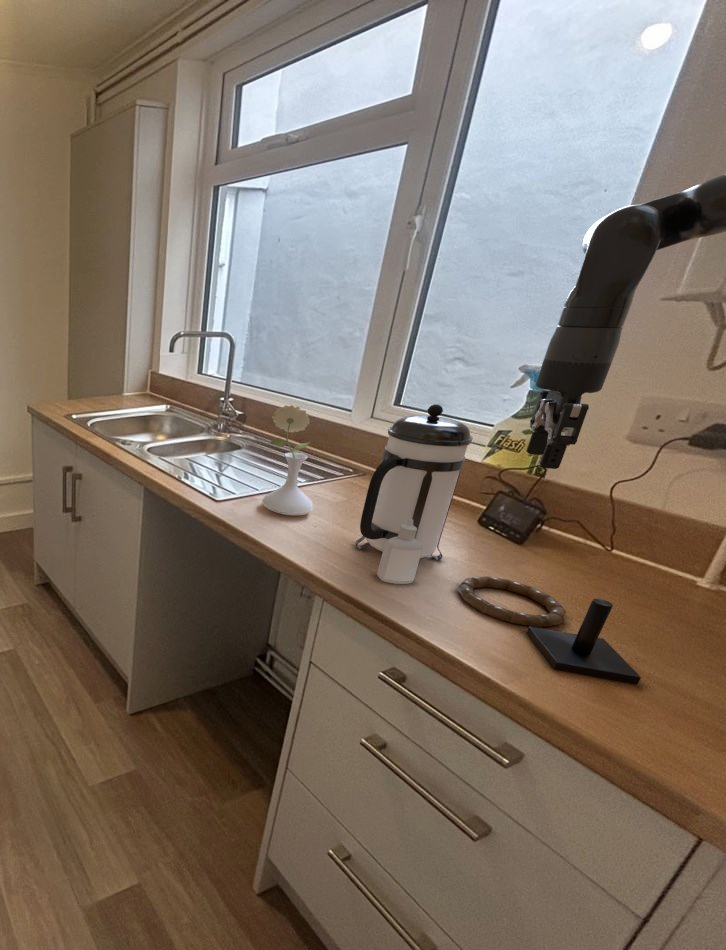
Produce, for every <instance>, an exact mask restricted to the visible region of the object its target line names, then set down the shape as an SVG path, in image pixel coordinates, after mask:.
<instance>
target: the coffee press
mask: <svg viewBox="0 0 726 950" xmlns="http://www.w3.org/2000/svg"><path fill="white" fill-rule="evenodd" d="M426 411H427V413H428V415H424V414H420V415H416V414H415V415H408V416H407V415H406V416H403V417H401V418H397V420H396V421H394V422H393V424H392V426H389V428H388V429H387V434H388V435H387V436H388V439H387V443H386V446H385V447H384V450H383V454H382V460H381V463H380V464H379V465H378V466H377V467H376V469H375V470H374V472H373V474H372V476H371V478H370V481H369V485H368V489H367V492H366V496H365V500H364V504H363V508H362V512H361V513H362V514H361V517H360V522H359V523H360V524H359V532H360V534H361V535H362V536H361V537H360V538H358V539H357V540H356V541H355V547H356V548H357V549H358V550H364V549H365V548H367V547H370V546H371V547H373V548H374V549H376V550H378V551H380V552H382V553H383V550H384V546H385V543H386V541H387V540H388V539H390V538H393V537H397V536H398V534H399V530H400V527H401V525H403V524H406V523H407V521H408V519H412V520H413V526H415V527H416V528H417V531H416V534H415V538H414V539H416V540H418V541H419V542H420V543H421V544H422V546H423V549H422V553H421V556H420V559H423V558H428V557H430V556H431V557H432V558H433V559H434V560H436V561H439V560H442V559H443V554H442V552H441V550H440V548H439V546H440V545H439V544H440V541H441V538H442V534H443V531H444V528H445V525H446V522H447V518H448V514H449V511H450V508H451V504H452V502H453V498H454V495H455V491H456V489H457V485H458V481H459V478H460V475H461V470H463V467H464V464H465V461H466V452H467V449H468V446H469V445H470V444H471V443H472V442H473V436H472V435H471V431H470V429H469V427H468V426H467V425H466V424H465V423H463V422H461V421H459V420H456V419H453V418H450V417H449V418H448V417H443V416H440V415H442V413H444V408H443V407H442V405H440V404H439V403H438V404H437V403H436V404H435V403H434V404H431V405H430V406H429V407H428V408H427V409H426ZM364 540H366V541H367V542H366V543H364V544H362V545H359V544H360V543H361V542H363V541H364ZM436 550H438V552H439V554H438V555H437V556H436V555H433V554H434V553H435V552H436Z"/></svg>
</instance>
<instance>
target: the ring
mask: <svg viewBox="0 0 726 950" xmlns="http://www.w3.org/2000/svg"><path fill="white" fill-rule="evenodd" d="M485 587H486V588H491V589H492V588H493V589H500V590H505V591H509V592H513V593H515V594H519V595H521V596H525V597H527V598H529V599H531V600H533V601H534V602H537V603H539V604H541V605H542V606H544V607H545V608H546V609H547V611H548V613H545V614H531V613H526V612H525V613H524V612H518V611H513V610H509V609H507V608H504V607H501V606H499V605H494V604H492V603H490V602H488V601H487V600H485V599H483V598H482V597H480V596H478V594H477V595H476V593H475V592H474V590H473V589H476V588H485ZM457 591H458V593H459V594H460V596H461V597H462V599H463V601H464V602H465V603H466V604H468V605H470V606H471V607H473V608H474V609H476V610H479V611H480V612H482V613H483V614H485V615H488V616H491V617H494V618H496V619H498V620H502V621H504V622H507V623H511V624H516V625H520V626H521V625H522V626H528V627H535V628H542V627H552V626H558V625H560V624H561V623H562V622H563V620H564V619H565V617H566V615H567V610H566V608H564V606H563V605H562V604H561V603H560V602H559V601H558V600H557V599H556V598H554V597H553V596H551V595H549V594H548V593H545V592H543V591H541V590H540V589H538V588H536V587H533V586H531V585H528V584H524V583H521V582H518V581H514V580H511V579H508V578H500V577H495V576H494V577H492V576H485V575H483V576H475V577H466V578H464V580H463V581H462V582H461V583H460V584H459V585H458V586H457Z"/></svg>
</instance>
